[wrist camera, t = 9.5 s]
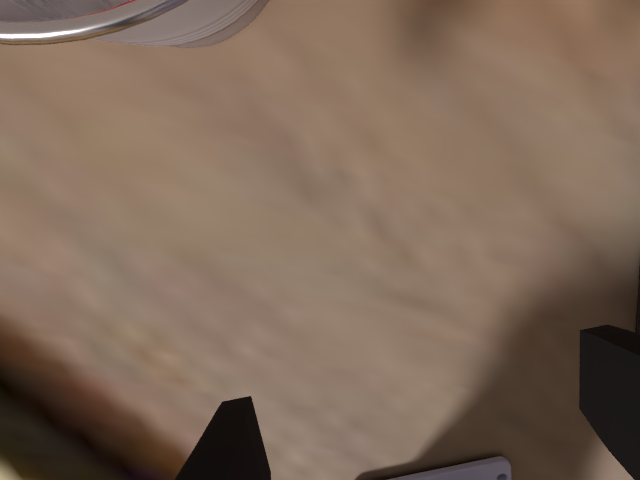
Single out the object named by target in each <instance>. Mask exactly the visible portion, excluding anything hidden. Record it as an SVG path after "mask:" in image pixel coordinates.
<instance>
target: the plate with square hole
mask: <svg viewBox="0 0 640 480" xmlns="http://www.w3.org/2000/svg"><path fill="white" fill-rule="evenodd" d="M636 333H637V334H640V268H639V287H638V306H637V325H636Z"/></svg>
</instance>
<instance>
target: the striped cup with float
mask: <svg viewBox="0 0 640 480" xmlns="http://www.w3.org/2000/svg"><path fill="white" fill-rule="evenodd" d="M268 1H269V0H0V44H5V45H41V44H56V43H64V42H72V41H79V40H86V39H94V40H99V41H105V42H113V43H121V44H131V45H140V46H170V47H181V48H195V47H203V46H208V45H212V44H216V43H218V42H221V41H224V40H226V39H228V38H230V37H232V36H234V35H235V34H237V33H239V32H240V31H241V30H243V29H244V28H245V27H247V26H248V25H249V24H250V23H251V22H252V21H253V20H254V19H255V18H256V17H257V16H258V15H259V13H260V12H261V11H262V10H263V8H264V7H265V5H266V4H267V2H268Z"/></svg>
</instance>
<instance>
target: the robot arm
mask: <svg viewBox="0 0 640 480" xmlns="http://www.w3.org/2000/svg"><path fill="white" fill-rule="evenodd" d="M579 408H580V410H581V411H582V413H583V414H584V416H585V417H586V419H587V420H588V422H589V423H590V425H591V426H592V428H593V429H594V431H595V432H596V433H597V435H598V436H599V438H600V439H601V440H602V442H603V443H604V445H605V446H606V447H607V449H608V450H609V451H610V452H611V454H612V455H613V456H614V457H615V458H616V459H617V461H618V462H619V463H620V464H621V465H622V466H623V467H624V468H625V470H626V471H627V472H628V473H629V474H630V475H631V476H632V477H633V479H634V480H640V334H637V333H634V332H631V331H628V330H625V329H621V328H618V327H614V326H610V325H604V326H599V327H594V328H589V329H584V330H580V400H579ZM500 474H501V475H500ZM498 475H499V476H498ZM175 480H271V471H270V468H269V464H268V460H267V456H266V452H265V448H264V444H263V441H262V437H261V433H260V429H259V425H258V421H257V417H256V414H255V410H254V406H253V402H252V398H251V396H249V397H244V398H239V399H234V400H229V401H224V402H222V403H221V405H220V406H219V407H218V409H217V411H216V412H215V414H214V416H213V418H212V419H211V421H210V423H209V424H208V426H207V428H206V430H205V431H204V433H203V435H202V436H201V438H200V440H199V441H198V443H197V445H196V446H195V448H194V450H193V451H192V453H191V454H190V456H189V458H188V459H187V461H186V462H185V464H184V465H183V467H182V469H181V470H180V472H179V473H178V475H177V476H176V478H175ZM387 480H512V477H511V466H510V463H509V462H508V460H507V459H506V458H505V457H502V456H499V457H493V458H488V459H483V460H479V461H474V462H469V463H464V464H459V465H454V466H450V467H445V468H440V469H435V470H430V471H426V472H421V473H416V474H411V475H406V476H401V477H397V478H392V479H387Z"/></svg>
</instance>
